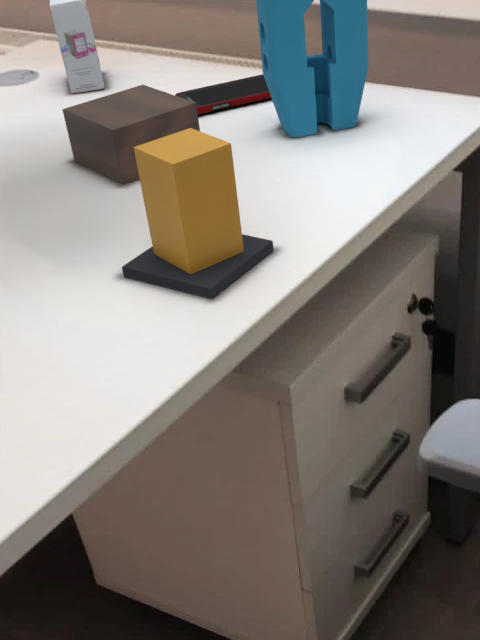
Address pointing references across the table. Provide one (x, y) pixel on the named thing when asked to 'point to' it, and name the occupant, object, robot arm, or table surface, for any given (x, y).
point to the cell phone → (228, 94)
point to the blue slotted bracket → (314, 63)
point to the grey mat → (202, 281)
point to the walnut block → (124, 128)
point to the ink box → (77, 45)
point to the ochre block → (190, 199)
